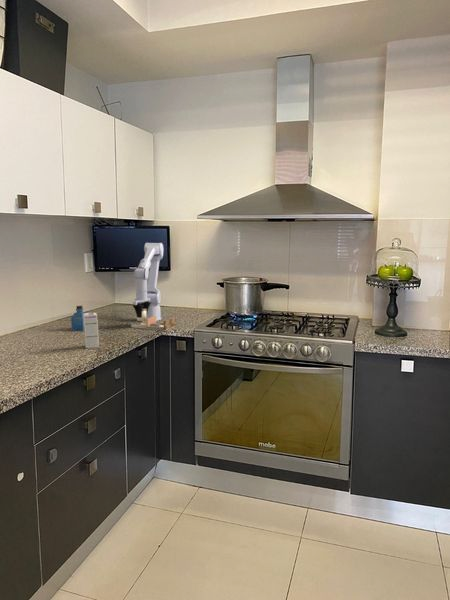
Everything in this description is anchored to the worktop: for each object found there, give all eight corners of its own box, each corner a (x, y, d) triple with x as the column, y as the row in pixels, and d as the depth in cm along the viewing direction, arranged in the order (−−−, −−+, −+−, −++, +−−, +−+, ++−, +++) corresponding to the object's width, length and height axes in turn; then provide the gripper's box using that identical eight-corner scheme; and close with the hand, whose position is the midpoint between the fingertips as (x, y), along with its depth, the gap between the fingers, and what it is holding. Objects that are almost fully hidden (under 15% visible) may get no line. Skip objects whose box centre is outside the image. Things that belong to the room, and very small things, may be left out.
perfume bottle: (82, 330, 229) (81, 307, 227) (71, 330, 230) (70, 306, 228) (88, 328, 235) (88, 305, 233) (78, 327, 236) (77, 305, 234)
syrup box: (99, 347, 196) (97, 314, 194) (85, 348, 194) (83, 315, 192) (98, 344, 202) (96, 312, 199) (84, 345, 199) (82, 312, 197)
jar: (139, 318, 244) (139, 307, 243) (148, 319, 243) (148, 308, 242) (135, 320, 239) (134, 309, 238) (144, 321, 238) (144, 309, 237)
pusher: (154, 323, 244) (154, 316, 243) (163, 324, 242) (163, 316, 241) (146, 327, 235) (145, 319, 234) (154, 327, 233) (154, 319, 233)
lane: (143, 323, 248) (143, 314, 247) (176, 326, 241) (176, 317, 240) (131, 327, 237) (131, 318, 236) (165, 330, 230) (165, 321, 229)
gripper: (142, 289, 246) (142, 313, 248) (127, 292, 233) (128, 318, 235) (153, 289, 244) (153, 314, 246) (139, 293, 231) (139, 319, 233)
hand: (142, 316), depth 240 cm, fingers closed on jar, 5 cm apart
